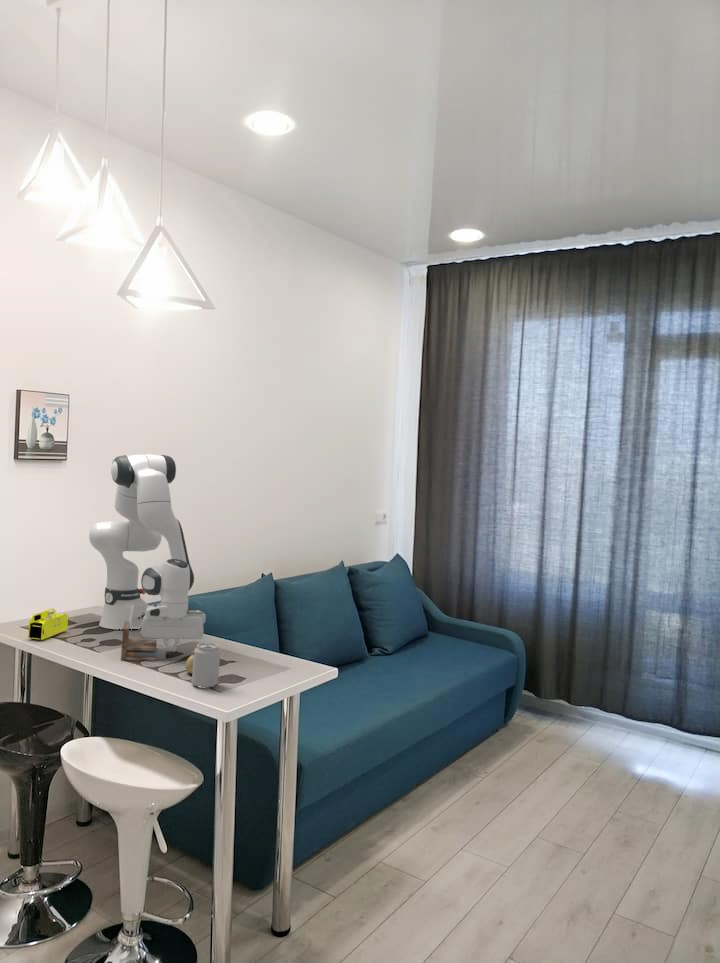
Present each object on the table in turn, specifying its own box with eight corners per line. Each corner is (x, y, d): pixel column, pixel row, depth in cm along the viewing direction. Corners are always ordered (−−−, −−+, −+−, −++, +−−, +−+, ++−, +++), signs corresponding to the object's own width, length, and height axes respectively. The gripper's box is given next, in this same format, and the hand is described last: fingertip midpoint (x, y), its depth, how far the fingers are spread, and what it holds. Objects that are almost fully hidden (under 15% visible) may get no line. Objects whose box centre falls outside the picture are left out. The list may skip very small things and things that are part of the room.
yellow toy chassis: (53, 630, 266) (54, 607, 265) (67, 632, 265) (69, 608, 265) (26, 640, 250) (28, 615, 250) (42, 642, 249) (44, 617, 249)
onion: (210, 670, 234) (211, 647, 233) (212, 678, 226) (214, 654, 226) (183, 670, 231) (185, 647, 231) (185, 678, 224) (187, 654, 223)
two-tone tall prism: (165, 654, 247) (165, 648, 247) (165, 659, 241) (165, 652, 241) (127, 653, 244) (128, 647, 244) (126, 658, 238) (127, 652, 238)
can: (191, 689, 214) (194, 647, 213) (191, 681, 221) (195, 641, 221) (217, 689, 215) (221, 648, 215) (217, 681, 223) (220, 641, 222)
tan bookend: (155, 651, 249) (158, 622, 248) (155, 660, 239) (157, 629, 238) (122, 651, 246) (125, 621, 246) (120, 660, 236) (123, 628, 236)
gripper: (205, 608, 250) (202, 649, 251) (142, 606, 245) (138, 648, 245) (206, 612, 244) (203, 654, 244) (141, 610, 239) (138, 653, 239)
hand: (170, 651), depth 245 cm, fingers closed
